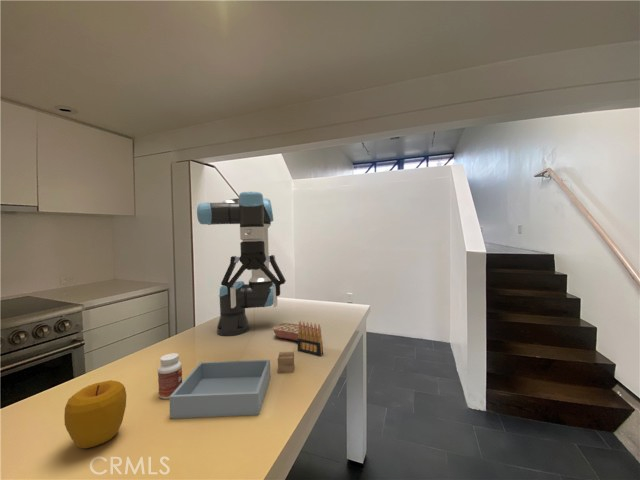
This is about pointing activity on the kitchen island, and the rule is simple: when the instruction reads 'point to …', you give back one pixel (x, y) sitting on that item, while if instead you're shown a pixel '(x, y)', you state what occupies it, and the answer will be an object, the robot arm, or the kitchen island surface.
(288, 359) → the walnut cube
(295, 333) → the anatomical model
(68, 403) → the apple
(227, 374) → the tote
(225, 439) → the kitchen island surface
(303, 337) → the ammunition clip
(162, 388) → the pill bottle
